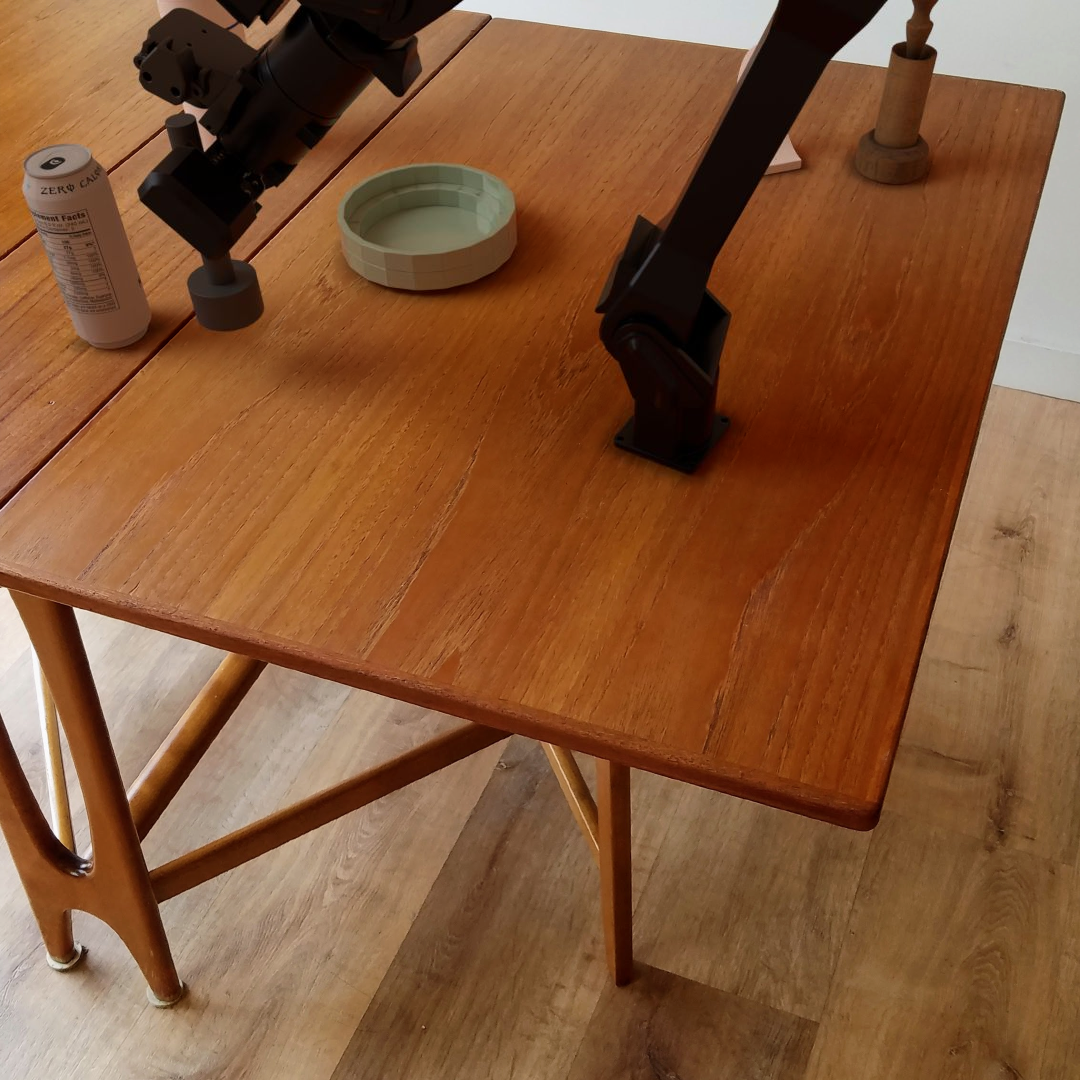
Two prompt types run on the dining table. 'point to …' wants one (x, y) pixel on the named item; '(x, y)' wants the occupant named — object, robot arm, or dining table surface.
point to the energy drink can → (86, 244)
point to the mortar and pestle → (902, 107)
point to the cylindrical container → (208, 7)
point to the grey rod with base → (218, 265)
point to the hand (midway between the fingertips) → (189, 219)
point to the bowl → (427, 226)
